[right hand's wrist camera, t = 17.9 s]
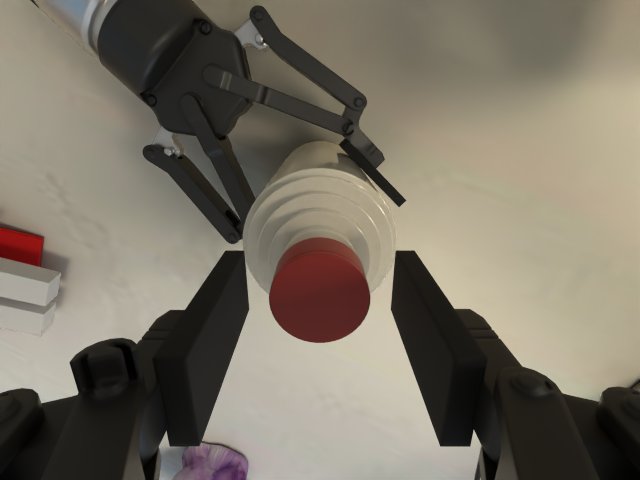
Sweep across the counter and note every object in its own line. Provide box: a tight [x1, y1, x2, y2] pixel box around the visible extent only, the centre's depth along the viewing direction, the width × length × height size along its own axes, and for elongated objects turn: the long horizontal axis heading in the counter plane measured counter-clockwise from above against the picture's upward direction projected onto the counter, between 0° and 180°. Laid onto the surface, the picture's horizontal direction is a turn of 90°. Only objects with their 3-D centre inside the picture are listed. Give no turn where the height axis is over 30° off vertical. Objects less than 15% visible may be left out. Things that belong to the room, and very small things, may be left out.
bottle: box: [243, 141, 397, 295], centre depth 24 cm, size 8×8×22 cm
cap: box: [269, 237, 370, 343], centre depth 14 cm, size 4×4×2 cm
